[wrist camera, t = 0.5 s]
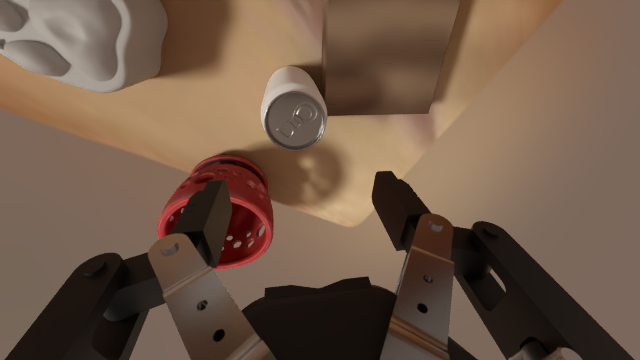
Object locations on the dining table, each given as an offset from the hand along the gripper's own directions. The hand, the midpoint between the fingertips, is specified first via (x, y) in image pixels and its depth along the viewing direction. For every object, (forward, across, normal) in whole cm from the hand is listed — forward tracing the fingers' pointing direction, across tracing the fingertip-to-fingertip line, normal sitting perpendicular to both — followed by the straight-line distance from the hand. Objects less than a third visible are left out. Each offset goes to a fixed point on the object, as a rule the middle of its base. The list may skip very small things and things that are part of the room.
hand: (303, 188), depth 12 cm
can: (+22, 0, 0) cm, 22 cm away
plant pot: (+22, +10, +14) cm, 28 cm away
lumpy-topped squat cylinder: (+22, +20, -8) cm, 31 cm away
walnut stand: (+22, -11, -5) cm, 25 cm away
